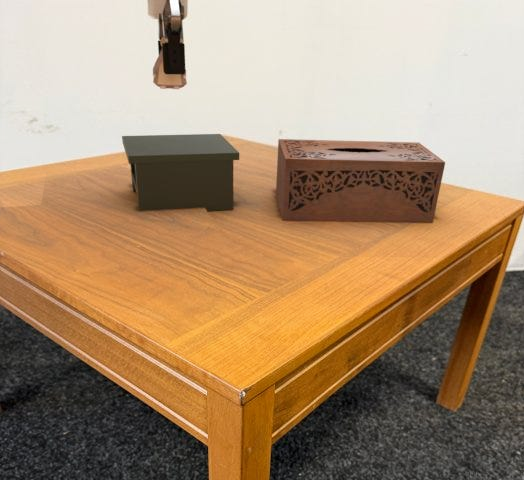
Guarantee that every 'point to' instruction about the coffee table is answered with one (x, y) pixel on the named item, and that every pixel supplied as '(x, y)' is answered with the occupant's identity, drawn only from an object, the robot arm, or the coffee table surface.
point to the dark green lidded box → (181, 171)
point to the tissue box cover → (357, 181)
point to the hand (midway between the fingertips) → (172, 70)
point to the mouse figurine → (167, 75)
